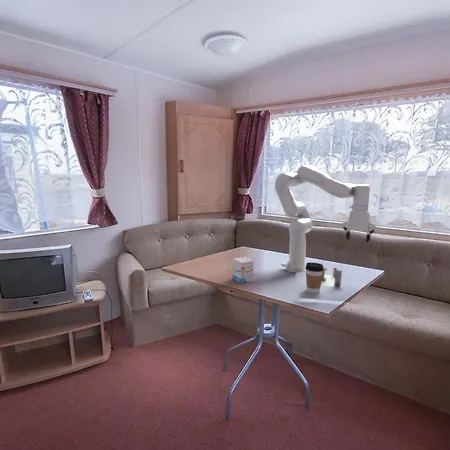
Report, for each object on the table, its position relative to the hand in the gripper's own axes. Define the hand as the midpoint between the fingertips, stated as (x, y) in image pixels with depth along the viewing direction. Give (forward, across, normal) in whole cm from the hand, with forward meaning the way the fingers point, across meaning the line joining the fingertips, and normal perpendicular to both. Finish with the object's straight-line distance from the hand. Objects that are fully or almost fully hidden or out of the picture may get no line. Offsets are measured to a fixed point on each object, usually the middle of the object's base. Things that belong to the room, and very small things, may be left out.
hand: (357, 240), depth 164 cm
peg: (+22, -5, -15) cm, 27 cm away
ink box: (+24, -50, -34) cm, 65 cm away
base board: (+23, -12, -10) cm, 28 cm away
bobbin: (+22, -15, -11) cm, 29 cm away
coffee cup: (+24, -12, -29) cm, 39 cm away
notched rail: (+22, -15, -3) cm, 27 cm away
